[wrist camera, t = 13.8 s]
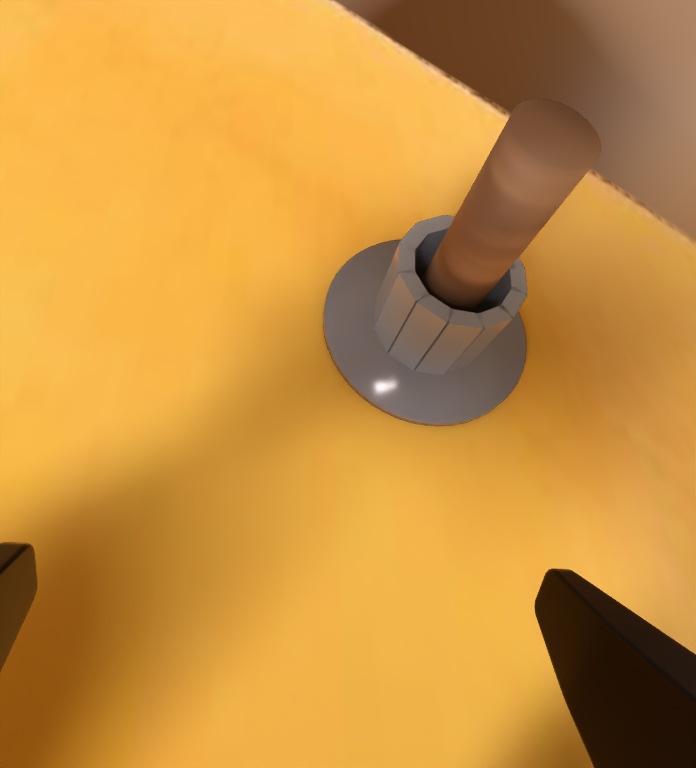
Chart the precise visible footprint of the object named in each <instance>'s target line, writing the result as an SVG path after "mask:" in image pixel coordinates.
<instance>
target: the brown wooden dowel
mask: <svg viewBox="0 0 696 768" xmlns="http://www.w3.org/2000/svg"><path fill="white" fill-rule="evenodd" d="M600 152H601V143H600V139H599V136H598V134H597V132H596V131H595V129H594V128H593V126H592V125H591V124H590V123H589V122H588V121H587V120H586V119H585V118H584V117H583V116H582V115H581V114H579V113H578V112H577V111H575V110H574V109H572V108H570V107H568V106H566V105H564V104H562V103H559V102H556V101H553V100H548V99H540V98H538V99H529V100H525V101H523V102H521V103H520V104H518V105H517V106H516V107H515V109H514V110H513V112H512V114H511V116H510V118H509V119H508V121H507V123H506V125H505V127H504V129H503V130H502V132H501V134H500V136H499V138H498V140H497V141H496V143H495V145H494V147H493V149H492V150H491V152H490V154H489V156H488V158H487V160H486V161H485V163H484V165H483V167H482V169H481V171H480V172H479V174H478V176H477V178H476V180H475V182H474V183H473V185H472V187H471V189H470V191H469V192H468V194H467V196H466V198H465V200H464V202H463V203H462V205H461V207H460V209H459V211H458V213H457V214H456V216H455V218H454V220H453V222H452V224H451V225H450V227H449V229H448V231H447V233H446V235H445V236H444V238H443V240H442V242H441V244H440V245H439V247H438V249H437V251H436V253H435V255H434V256H433V258H432V260H431V262H430V264H429V266H428V267H427V269H426V271H425V273H424V275H423V277H422V278H421V282H422V284H423V285H424V287H425V289H426V290H427V292H428V294H430V295H432V296H433V297H435V298H436V299H438V300H439V301H441V302H442V303H444V304H445V305H447V306H448V307H450V308H451V309H454V310H461V311H467V312H473V313H474V311H475V310H476V309H477V308H478V306H479V305H480V304H481V303H482V302H483V300H484V299H485V298H486V297H487V295H488V294H489V293H490V292H491V290H492V289H493V288H494V287H495V285H496V284H497V283H498V282H499V281H500V279H501V278H502V277H503V276H504V274H505V273H506V272H507V271H508V269H509V268H510V267H511V266H512V264H513V263H514V262H515V261H516V259H517V258H518V257H519V256H520V255H521V253H522V252H523V251H524V250H525V248H526V247H527V246H528V245H529V243H530V242H531V241H532V240H533V238H534V237H535V236H536V235H537V234H538V232H539V231H540V230H541V229H542V227H543V226H544V225H545V224H546V222H547V221H548V220H549V219H550V217H551V216H552V215H553V214H554V212H555V211H556V210H557V209H558V208H559V206H560V205H561V204H562V203H563V201H564V200H565V199H566V198H567V196H568V195H569V194H570V193H571V191H572V190H573V189H574V188H575V187H576V185H577V184H578V183H579V182H580V180H581V179H582V178H583V177H584V175H585V174H586V173H587V172H588V170H589V169H590V168H591V167H592V165H593V164H594V163H595V162H596V160H597V159H598V158H599V155H600Z"/></svg>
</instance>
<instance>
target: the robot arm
mask: <svg viewBox="0 0 696 768" xmlns="http://www.w3.org/2000/svg"><path fill="white" fill-rule="evenodd" d="M36 590H37V573H36V563H35V553H34V548H33V546H32V545H31V544H29V543H16V542H4V543H0V672H1V670H2V667H3V665H4V663H5V661H6V659H7V657H8V654H9V652H10V650H11V648H12V646H13V643H14V641H15V639H16V637H17V635H18V633H19V630H20V628H21V626H22V624H23V622H24V619H25V617H26V615H27V613H28V611H29V609H30V606H31V604H32V602H33V600H34V597H35V594H36ZM535 614H536V618H537V621H538V623H539V626H540V629H541V632H542V635H543V638H544V641H545V644H546V647H547V650H548V653H549V656H550V659H551V662H552V665H553V668H554V671H555V674H556V677H557V679H558V682H559V685H560V688H561V691H562V693H563V696H564V699H565V701H566V704H567V706H568V709H569V711H570V713H571V716H572V718H573V720H574V723H575V725H576V727H577V729H578V732H579V734H580V736H581V739H582V741H583V743H584V745H585V748H586V750H587V752H588V754H589V757H590V759H591V761H592V764H593V766H594V768H696V655H695V654H694V653H693V652H691V651H690V650H688V649H687V648H685V647H684V646H682V645H681V644H679V643H678V642H676V641H675V640H673V639H672V638H670V637H669V636H668V635H666V634H665V633H663V632H662V631H660V630H659V629H657V628H656V627H654V626H653V625H651V624H650V623H648V622H647V621H646V620H644V619H643V618H641V617H640V616H638V615H637V614H635V613H634V612H632V611H631V610H629V609H628V608H626V607H625V606H623V605H622V604H621V603H619V602H618V601H616V600H615V599H613V598H612V597H610V596H609V595H607V594H606V593H604V592H603V591H601V590H600V589H599V588H597V587H596V586H594V585H593V584H591V583H590V582H588V581H587V580H585V579H584V578H582V577H581V576H579V575H578V574H577V573H575V572H573V571H572V570H568V569H549V570H548V571H547V572H546V574H545V576H544V579H543V581H542V584H541V587H540V589H539V592H538V595H537V597H536V600H535Z"/></svg>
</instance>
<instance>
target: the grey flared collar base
mask: <svg viewBox="0 0 696 768" xmlns="http://www.w3.org/2000/svg"><path fill="white" fill-rule="evenodd" d="M454 218H455V217H454V216H449V215H446V216H444V215H442V216H439V217H435V218H431V219H427V220H424V221H420V222H417V224H415V225H414V226H413V227H412V228H411V229H410V231H409V232H408V233H407V234H406V235H405V237H404V238H403V239H402V240H394V241H388V242H383V243H379V244H377V245H374V246H371V247H369V248H367V249H365V250H363V251H361V252H359V253H358V254H356V255H355V256H353V257H352V258H351V259H350V260H349V261H347V262H346V263H345V264H344V265H343V266H342V268H341V269H340V270H339V272H338V273H337V274H336V276H335V278H334V279H333V281H332V283H331V285H330V288H329V291H328V294H327V297H326V301H325V307H324V312H323V328H324V336H325V340H326V344H327V347H328V350H329V353H330V355H331V357H332V360H333V362H334V364H335V365H336V367H337V369H338V370H339V372H340V374H341V375H342V376H343V378H344V379H345V380H346V381H347V383H348V384H349V385H350V386H351V387H352V388H353V389H354V390H355V391H356V392H357V393H358V394H359V395H360V396H361V397H362V398H364V399H365V400H366V401H368V402H369V403H370V404H371V405H373V406H375V407H376V408H378V409H380V410H381V411H383V412H385V413H387V414H389V415H391V416H393V417H396V418H398V419H401V420H404V421H407V422H411V423H415V424H421V425H426V426H451V425H457V424H462V423H466V422H469V421H472V420H475V419H477V418H479V417H481V416H483V415H485V414H487V413H488V412H490V411H491V410H492V409H494V408H495V407H496V406H498V405H499V404H500V403H501V402H503V401H504V400H505V399H506V398H507V396H508V395H509V394H510V393H511V392H512V391H513V389H514V387H515V386H516V384H517V383H518V381H519V379H520V376H521V374H522V371H523V368H524V364H525V358H526V336H525V330H524V326H523V322H522V319H521V316H520V314H519V312H518V310H519V308H520V306H521V305H522V303H523V301H524V300H525V298H526V296H527V294H528V293H527V284H526V276H525V267H524V266H523V265H524V264H523V263H522V262H521V260H520V259H519V257H518V258H517V259H516V261H515V262H514V263H513V264H512V266H511V267H510V268H509V269H508V271H507V272H506V273H505V274H504V276H503V277H502V278H501V279H500V281H499V282H498V283H497V284H496V285H495V287H494V288H493V289H492V290H491V292H490V293H489V294H488V295H487V297H486V298H485V299H484V300H483V302H482V303H481V304H480V305H479V306H478V308H477V309H476V310H475V311H474V313H473V312H467V311H461V310H454V309H451V308H450V307H448V306H447V305H445V304H444V303H442V302H441V301H439V300H438V299H436V298H435V297H433V296H432V295H430V294H428V292H427V290H426V289H425V287H424V285H423V284H422V282H421V278H422V277H423V275H424V273H425V271H426V269H427V267H428V266H429V264H430V262H431V260H432V258H433V256H434V255H435V253H436V251H437V249H438V247H439V245H440V244H441V242H442V240H443V238H444V236H445V235H446V233H447V231H448V229H449V227H450V225H451V224H452V222H453V220H454Z"/></svg>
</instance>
